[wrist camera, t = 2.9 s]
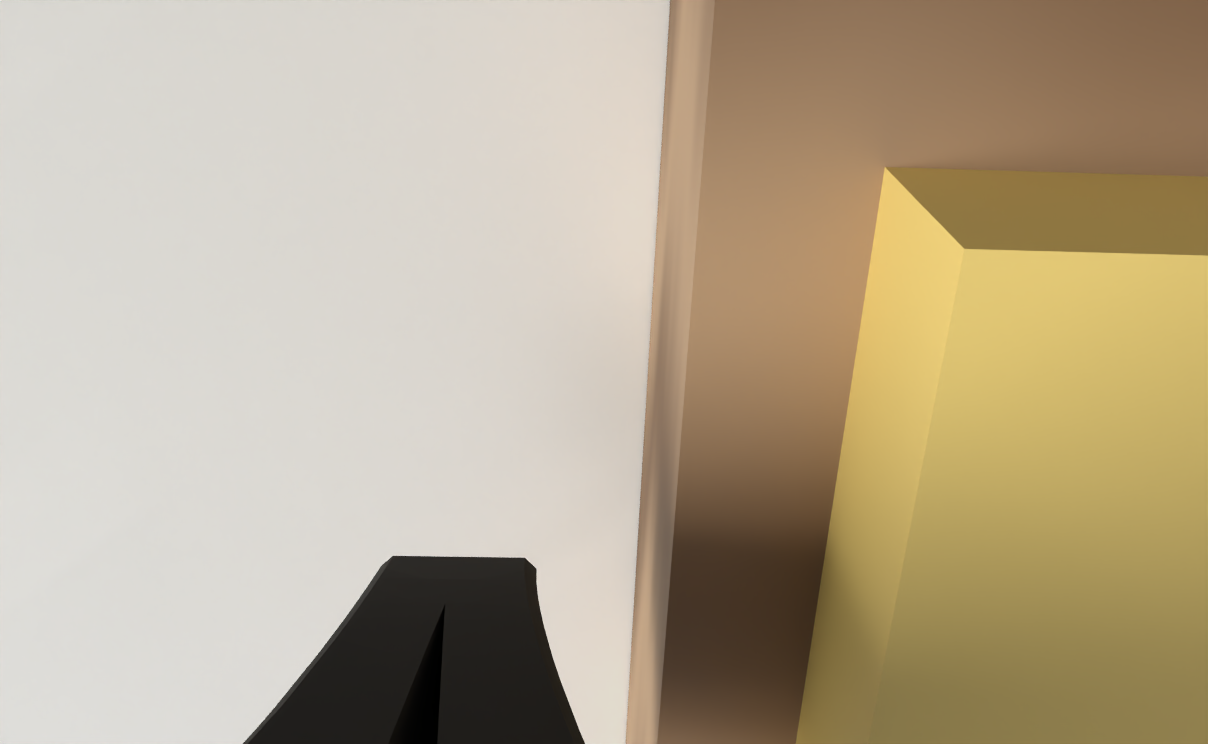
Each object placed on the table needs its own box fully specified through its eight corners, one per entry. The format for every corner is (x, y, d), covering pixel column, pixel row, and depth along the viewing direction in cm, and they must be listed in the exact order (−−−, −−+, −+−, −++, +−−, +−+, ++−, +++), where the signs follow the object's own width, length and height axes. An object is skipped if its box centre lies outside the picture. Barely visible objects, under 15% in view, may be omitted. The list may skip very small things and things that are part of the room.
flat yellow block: (1262, 912, 13) (1374, 1084, 11) (770, 909, 13) (801, 1084, 11) (1593, 187, 9) (1849, 273, 7) (884, 166, 9) (964, 249, 7)
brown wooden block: (1246, 881, 19) (1406, 1129, 15) (617, 878, 18) (627, 1130, 15) (1785, -352, 11) (2400, -457, 7) (694, -406, 10) (758, -544, 7)
